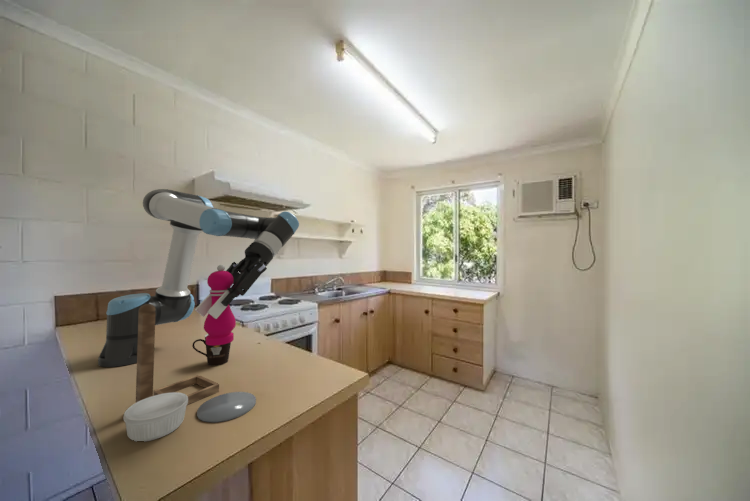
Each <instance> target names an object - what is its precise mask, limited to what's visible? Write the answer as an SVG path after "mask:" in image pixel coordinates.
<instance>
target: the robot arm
mask: <svg viewBox="0 0 750 501" xmlns="http://www.w3.org/2000/svg"><path fill="white" fill-rule="evenodd" d="M142 207H143V210H144V211H145V213H147V215H149V216H150V217H152V218H154V219H158V220H161V221H166V222H169V226H171V228H172V229H173V231H172V235H171V240H170V243H169V244H170V245H169V249H168V250H169V251H168V254H167V259H166V260H167V261H166V264H165V269H164V273H163V278H162V283H161V286H159V287H158V288H156V290H155V292H154V293H155V294H154V295H152V296H151V294H150V293H147V292H144V293H143V292H141V293H132V294H126V295H123V296H122V295H121V296H118V297H115V298H112V299H111V300H110V301H109V302H108V303H107V310H106V313H105V314H106V331H105V332H106V333H105V335H106V338H105V343H104V345H103V347H102V349H101V352H100V354H99V356H98V359H97V360H98V361H97V363H98V366H99V367H101V368H102V367H103V368H108V367H109V368H113V367H122V366H128V365H133V364H137V346H138V316H139V308H140V307H141V306H143V305H145V304H151V305H153V306H154V307H155V309H156V310H155V326H159V325H165V324H170V323H177V322H179V321H184V320H186V319H187V318H188V319H189V317H190V316H191V315H192V314H193V312H194V311H196V313H197V314H199V315H200V316H201V317H205V316H206V315H208V314H210V315H211V316H212V317H214V318H215V319H217V318H218V317H219V315H220V314H221V313H222V312H223V311H224V310H225V308H226V307H227V306H228V305H230V304H231V303H232V301H234V299H235V298H238V297H239V296H242V297H243V296H244V295H245V294H246V293H247V292H248V291H249V290H250V288H251V287H252V286H253V285H254V283H255V282H256V281H257V280H258V279H259V278H260V276H261V275H263V274H264V272H265V271H267V270H268V269H267V266H268V265H269V264H270V263H271V262H272V261H273V259H274V257H275V256H276V255H278V254H279V252H280V251H281V249H282V248H283V247H284V246H285V245H286V244H287V242H288V241H289V240H290V239H291V238H292V237H293V236H294V235H295V233H296V231H297V230H298V229H299V227H300V222H299V220H298V217H297V216H295V215H294V214H293V213H292V212H290V211H286V210H285V211H281V212H280V213H279V214H277V216H276V217H266V216H264V217H263V216H256V215H251V214H245V213H238V212H233V211H230V210H229V211H228V210H225V209H220V208H217V207H214V206H213V203H212V201H211V200H210V199H208V198H207V197H205V196H201V195H198V194H193V193H187V192H182V191H177V190H172V189H169V188H168V189H166V188H157V189H153V190H151V191H149V192H147V193H146V194H145V196H144V197H143V200H142ZM201 233H204V234H206V235H210V236H215V237H233V238H243V239H252V240H253V241H252V242H251V243H249V245H248V246H247V247H246V249H245V250H244V258H243V259H241V260H240V261H239V262H238V263H237V262H235V261H233V262H232V263H231V264H230V265H229V266H228V268H227V269H226V270H225V271H227V272H229V273H231V274H232V276H233V278H234V283H233V285H232V286H231V287H230V288H227V290H228V291H230V293H229V292H228V291H225V293H224V294H223V295H222V296H221V297H220V298H219V299H218V300H217V301H216V303H215V304H214V305H213V306H212V307H211V305H212V298H211V296H210V295H209V294H208V295H207V296H206V297H205V298H204V299H203V300H202V301H201V302H200V304H198V305H197V307H196V308H195V306H196V304H195V297H194V295H193V294H191V290H190V289H189V288H188V287H189V281H190V276H191V272H192V267H193V265H194V264H193V262H194V259H195V254H196V249H197V245H198V239H199V235H200V234H201Z"/></svg>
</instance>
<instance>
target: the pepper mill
mask: <svg viewBox="0 0 750 501" xmlns="http://www.w3.org/2000/svg"><path fill="white" fill-rule="evenodd" d="M216 269H217V270H216V271H213V272H211V273H210V274H209V275H208V278H207V281H206V282H207V286H208V287H209V288H210V290H209V294H208V295H210V296H211V298H212V305H211V307H212V306H213V305H214V304H215V303H216V301H217V300H218V299H219V298H220V297H221V296H222V295H223V294H224V293H225V291H228V290H227V288H231V287H232V285H233V283H234V278H233V276H232V274H231V273H229V272H227V271H226V270H225V269H226V266H225V265H224V264H219V265H217V267H216ZM228 292H229V293H230V291H228ZM206 315H207V316H206V317H205V320H204V324H203V330H204V331H205V333H206V334H208V336H206V344H207V345H212V346H214V345H223V344H227V343H230V342H231V343H232V342H233V341H234V337H235V336H234V335H235V334H234V332H232V331H233V330H234V329H235V327H236V325H237V323H236V318H235V315H234V313H233V311H232V309H231V306H230V304H229V305H228V306H227V307H226V308H225V310H224V311H223V312H222V313H221V314H220V315H219V317H218V318H217V319H215V318H214V317H212V316H211V315H210V314H209V313H207V314H206Z"/></svg>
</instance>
